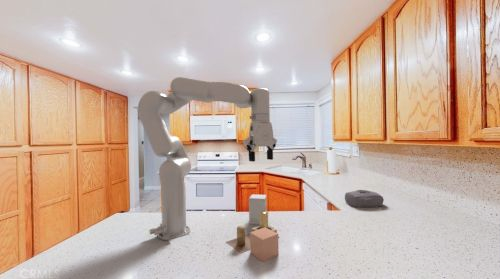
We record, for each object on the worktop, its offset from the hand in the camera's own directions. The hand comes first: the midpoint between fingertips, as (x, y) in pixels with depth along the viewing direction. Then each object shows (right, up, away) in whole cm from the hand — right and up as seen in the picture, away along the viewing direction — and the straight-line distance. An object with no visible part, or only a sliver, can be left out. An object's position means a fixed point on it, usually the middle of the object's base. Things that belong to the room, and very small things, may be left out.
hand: (261, 160), depth 88 cm
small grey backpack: (+62, -30, +35) cm, 77 cm away
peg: (+1, -29, -5) cm, 29 cm away
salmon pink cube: (0, -30, -18) cm, 35 cm away
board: (-3, -30, -8) cm, 32 cm away
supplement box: (-1, -31, +10) cm, 32 cm away
